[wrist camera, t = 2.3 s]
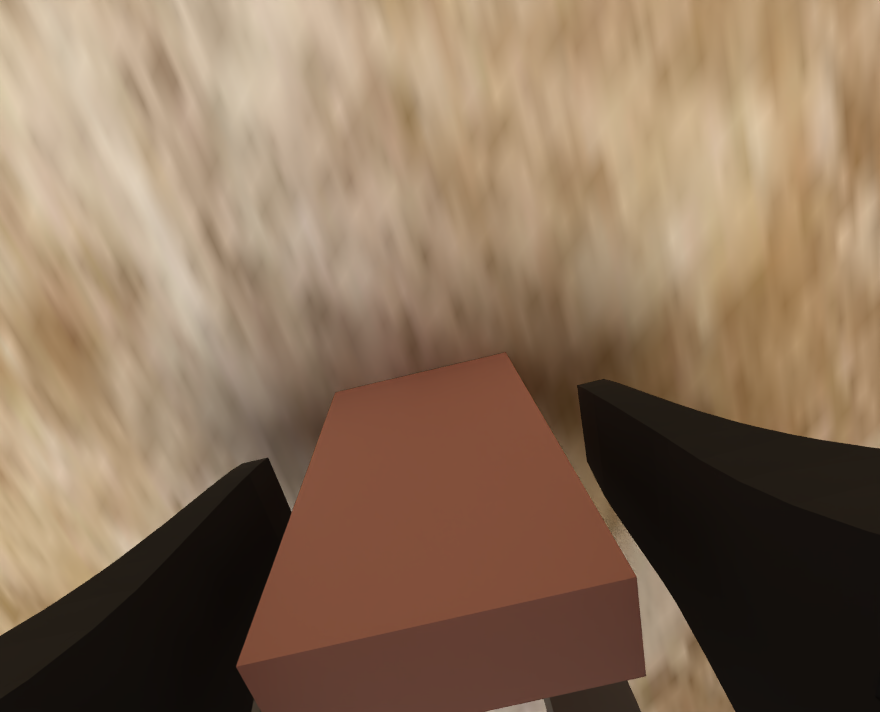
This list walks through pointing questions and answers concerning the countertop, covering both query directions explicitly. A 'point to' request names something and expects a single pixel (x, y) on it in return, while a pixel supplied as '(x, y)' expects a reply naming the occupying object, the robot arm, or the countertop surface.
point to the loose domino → (441, 559)
